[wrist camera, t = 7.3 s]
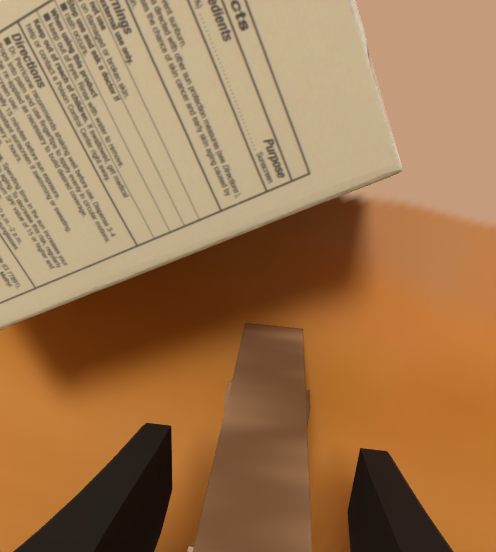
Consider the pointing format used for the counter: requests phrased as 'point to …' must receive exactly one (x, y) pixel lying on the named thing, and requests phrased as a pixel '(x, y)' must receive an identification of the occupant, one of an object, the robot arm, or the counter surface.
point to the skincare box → (171, 132)
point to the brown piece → (261, 451)
